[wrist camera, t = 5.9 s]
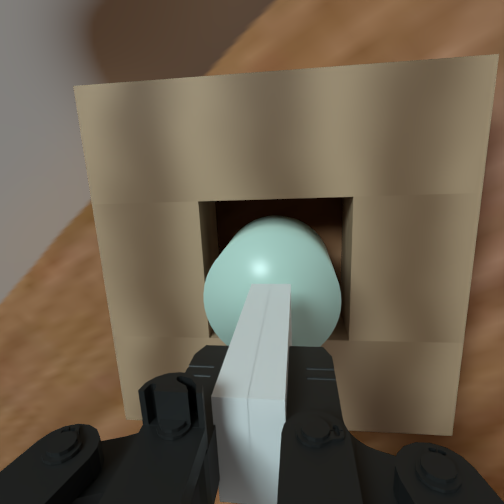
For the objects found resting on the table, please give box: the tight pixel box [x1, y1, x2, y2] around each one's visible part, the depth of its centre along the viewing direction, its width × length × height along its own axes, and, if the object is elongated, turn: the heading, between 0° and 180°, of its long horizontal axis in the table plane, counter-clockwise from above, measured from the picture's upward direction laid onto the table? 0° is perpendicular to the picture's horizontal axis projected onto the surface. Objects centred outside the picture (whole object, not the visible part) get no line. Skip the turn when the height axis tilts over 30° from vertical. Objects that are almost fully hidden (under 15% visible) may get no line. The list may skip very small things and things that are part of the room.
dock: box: [74, 54, 499, 436], centre depth 21 cm, size 20×20×4 cm
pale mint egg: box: [203, 215, 341, 347], centre depth 18 cm, size 6×6×5 cm
